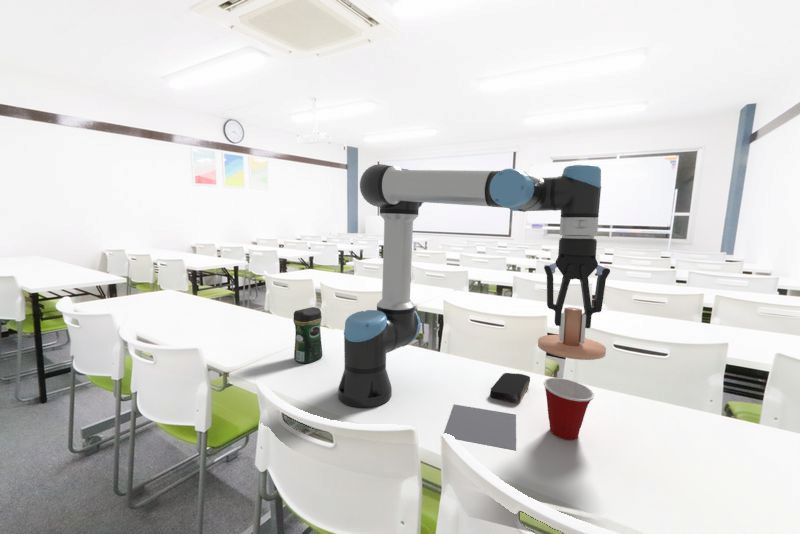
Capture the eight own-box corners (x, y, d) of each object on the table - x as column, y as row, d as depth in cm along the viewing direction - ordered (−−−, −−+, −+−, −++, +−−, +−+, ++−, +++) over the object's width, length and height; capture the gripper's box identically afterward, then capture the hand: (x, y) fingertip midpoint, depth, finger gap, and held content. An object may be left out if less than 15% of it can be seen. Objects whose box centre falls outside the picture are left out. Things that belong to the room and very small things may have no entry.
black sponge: (518, 408, 99) (519, 395, 98) (487, 400, 103) (488, 388, 103) (530, 386, 113) (531, 375, 112) (503, 380, 117) (503, 369, 117)
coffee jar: (311, 353, 137) (310, 304, 135) (325, 357, 133) (325, 307, 131) (289, 360, 129) (289, 309, 127) (304, 365, 125) (304, 312, 123)
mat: (442, 438, 84) (442, 436, 84) (453, 406, 99) (453, 404, 99) (515, 452, 79) (516, 450, 79) (515, 416, 94) (515, 414, 94)
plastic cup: (593, 454, 79) (597, 401, 78) (539, 442, 83) (542, 391, 82) (588, 428, 89) (592, 381, 88) (540, 419, 93) (543, 373, 92)
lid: (539, 355, 79) (542, 313, 78) (536, 337, 92) (538, 301, 91) (612, 363, 75) (616, 319, 74) (598, 343, 88) (601, 305, 87)
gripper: (538, 237, 80) (532, 341, 82) (625, 238, 75) (616, 350, 77) (536, 236, 87) (531, 332, 89) (616, 237, 82) (608, 339, 84)
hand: (571, 340), depth 83 cm, fingers closed on lid, 3 cm apart
